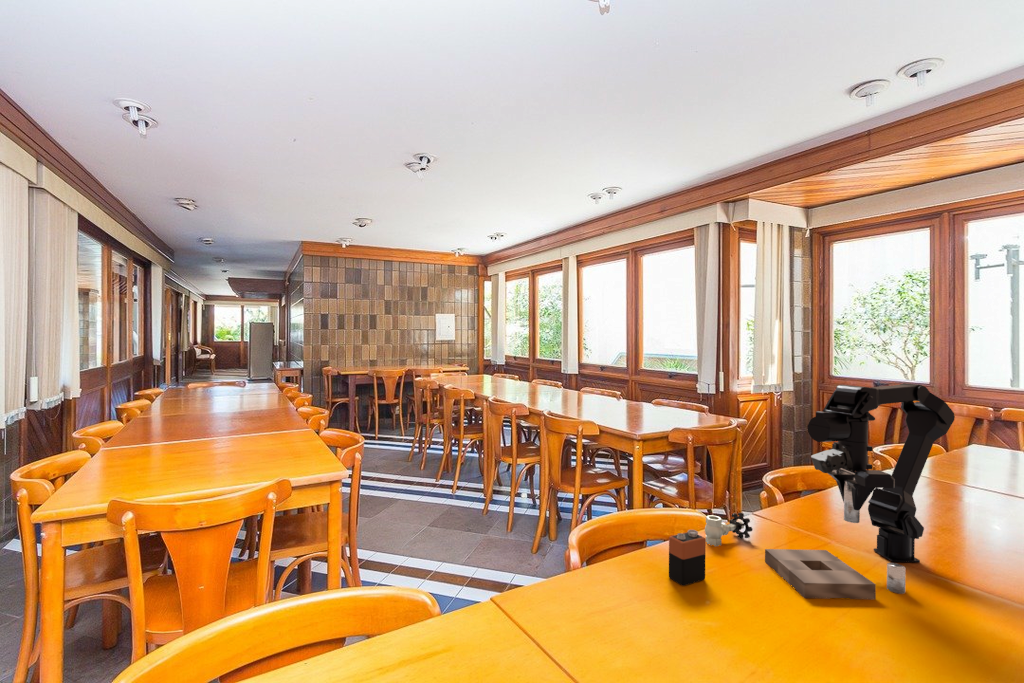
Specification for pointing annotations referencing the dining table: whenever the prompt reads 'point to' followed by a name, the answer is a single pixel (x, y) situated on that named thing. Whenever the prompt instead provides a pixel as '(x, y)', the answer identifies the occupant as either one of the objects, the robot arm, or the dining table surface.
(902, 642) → the dining table surface
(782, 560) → the hole plate
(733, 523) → the valve
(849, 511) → the long pin
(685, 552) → the battery
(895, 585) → the short pin
